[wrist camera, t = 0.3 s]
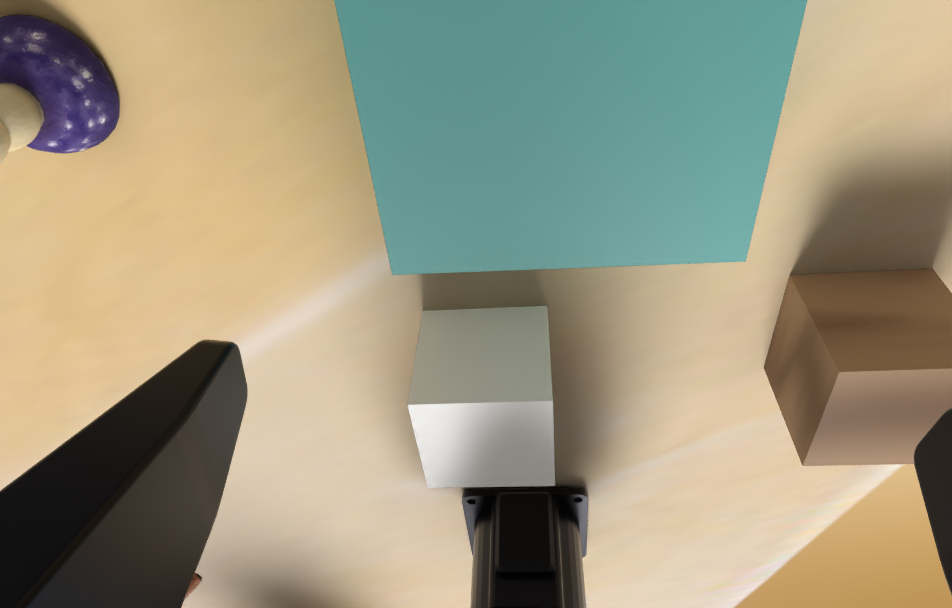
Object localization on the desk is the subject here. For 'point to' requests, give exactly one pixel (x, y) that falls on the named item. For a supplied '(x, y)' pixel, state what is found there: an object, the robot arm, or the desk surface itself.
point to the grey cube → (484, 398)
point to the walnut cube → (862, 364)
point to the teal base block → (567, 127)
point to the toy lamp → (51, 89)
